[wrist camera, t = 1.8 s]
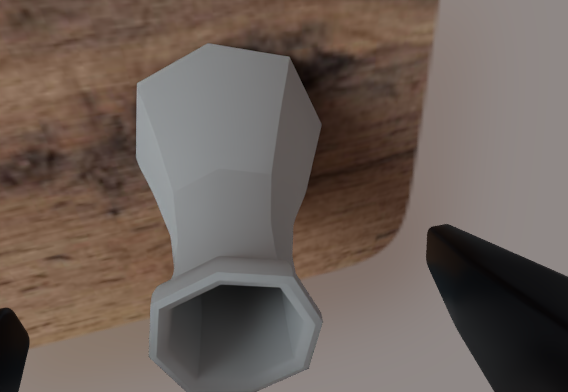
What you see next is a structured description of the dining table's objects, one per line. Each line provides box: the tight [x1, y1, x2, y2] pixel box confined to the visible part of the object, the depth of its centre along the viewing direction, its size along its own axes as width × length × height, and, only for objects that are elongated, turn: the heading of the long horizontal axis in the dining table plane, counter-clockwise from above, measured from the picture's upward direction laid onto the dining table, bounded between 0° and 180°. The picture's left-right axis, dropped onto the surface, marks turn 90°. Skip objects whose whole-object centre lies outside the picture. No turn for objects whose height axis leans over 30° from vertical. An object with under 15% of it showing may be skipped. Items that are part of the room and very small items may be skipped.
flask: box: [136, 43, 323, 392], centre depth 12 cm, size 7×7×10 cm
